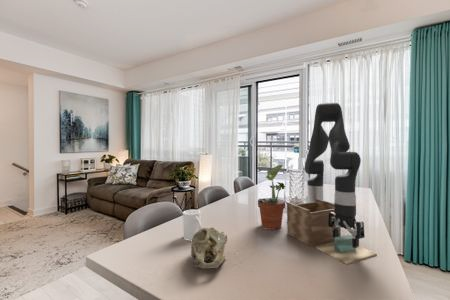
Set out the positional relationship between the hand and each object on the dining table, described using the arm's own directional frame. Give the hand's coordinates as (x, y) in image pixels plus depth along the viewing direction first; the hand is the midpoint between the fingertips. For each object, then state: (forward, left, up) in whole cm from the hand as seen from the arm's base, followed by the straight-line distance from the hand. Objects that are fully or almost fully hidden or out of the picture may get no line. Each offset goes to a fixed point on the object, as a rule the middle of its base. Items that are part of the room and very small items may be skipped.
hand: (345, 243), depth 87 cm
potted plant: (-36, -10, -4) cm, 37 cm away
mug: (-37, -52, -4) cm, 64 cm away
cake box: (-17, 0, -3) cm, 17 cm away
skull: (-15, -52, -4) cm, 54 cm away
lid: (0, 0, -4) cm, 4 cm away
